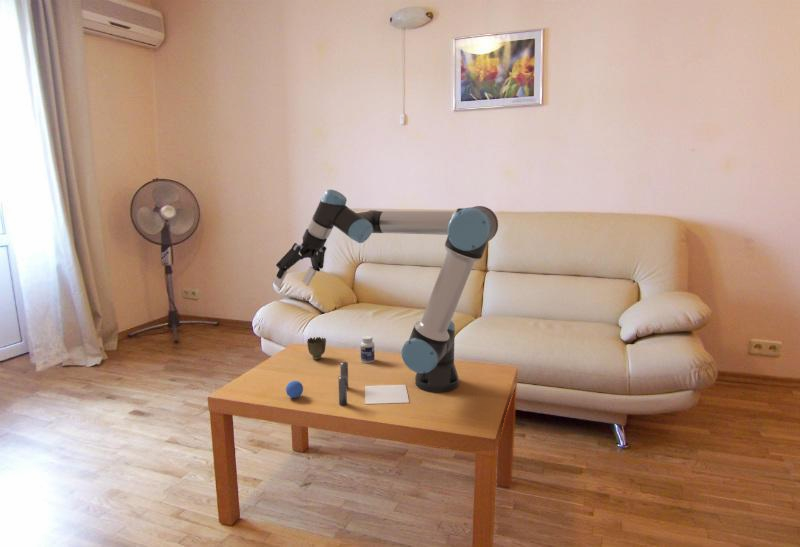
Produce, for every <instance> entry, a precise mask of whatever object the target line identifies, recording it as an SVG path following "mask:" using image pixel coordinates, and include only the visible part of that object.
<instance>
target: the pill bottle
mask: <svg viewBox="0 0 800 547" xmlns="http://www.w3.org/2000/svg"><path fill="white" fill-rule="evenodd" d="M361 338H362V339H361V340H362V342H361V343H360V362H362V363H363V364H371V362H372V363H373V362H375V342H374V341H373V339H374V338H373V336H371V335H364V336H362V337H361Z"/></svg>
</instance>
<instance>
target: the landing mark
mask: <svg viewBox="0 0 800 547" xmlns="http://www.w3.org/2000/svg"><path fill="white" fill-rule="evenodd" d="M364 388H365V389H364V405H384V404H409V403H410V401H409V396H408V389H407V385H406V384H388V385H387V384H384V385H383V384H382V385H381V384H379V385H365V386H364Z"/></svg>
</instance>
